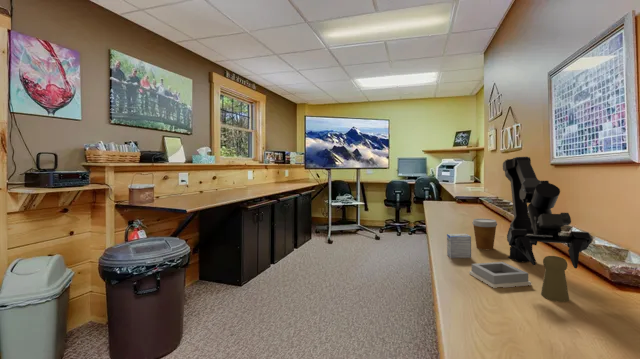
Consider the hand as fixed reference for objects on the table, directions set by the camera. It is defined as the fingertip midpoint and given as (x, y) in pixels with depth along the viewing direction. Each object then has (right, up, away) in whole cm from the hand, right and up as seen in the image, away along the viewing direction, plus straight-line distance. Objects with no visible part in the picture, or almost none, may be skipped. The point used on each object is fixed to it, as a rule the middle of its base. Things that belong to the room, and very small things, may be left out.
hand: (554, 266), depth 81 cm
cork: (0, -9, 0) cm, 9 cm away
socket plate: (-7, -8, +14) cm, 17 cm away
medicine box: (-9, -7, +38) cm, 39 cm away
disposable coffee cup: (+7, -6, +48) cm, 49 cm away
